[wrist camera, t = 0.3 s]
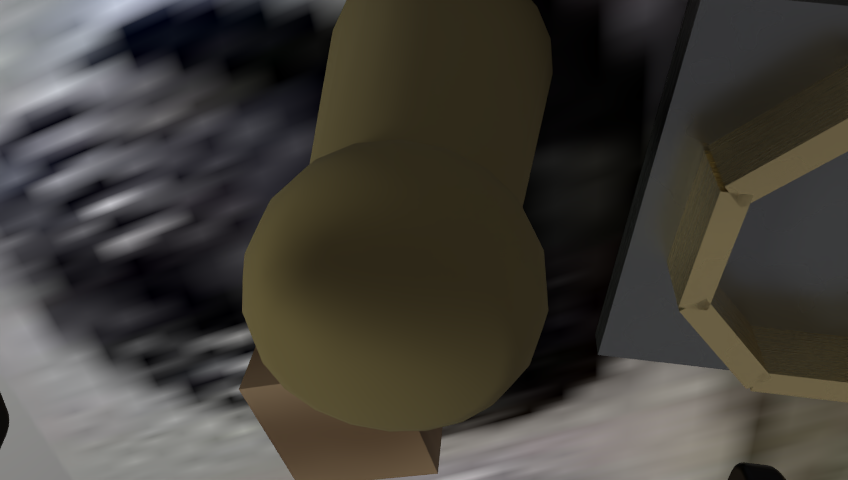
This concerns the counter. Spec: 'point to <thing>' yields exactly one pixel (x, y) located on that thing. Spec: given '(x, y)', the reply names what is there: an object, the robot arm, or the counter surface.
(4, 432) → the robot arm
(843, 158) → the cup bracket
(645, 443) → the counter surface
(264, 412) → the walnut block
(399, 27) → the olive brown tapered cylinder
